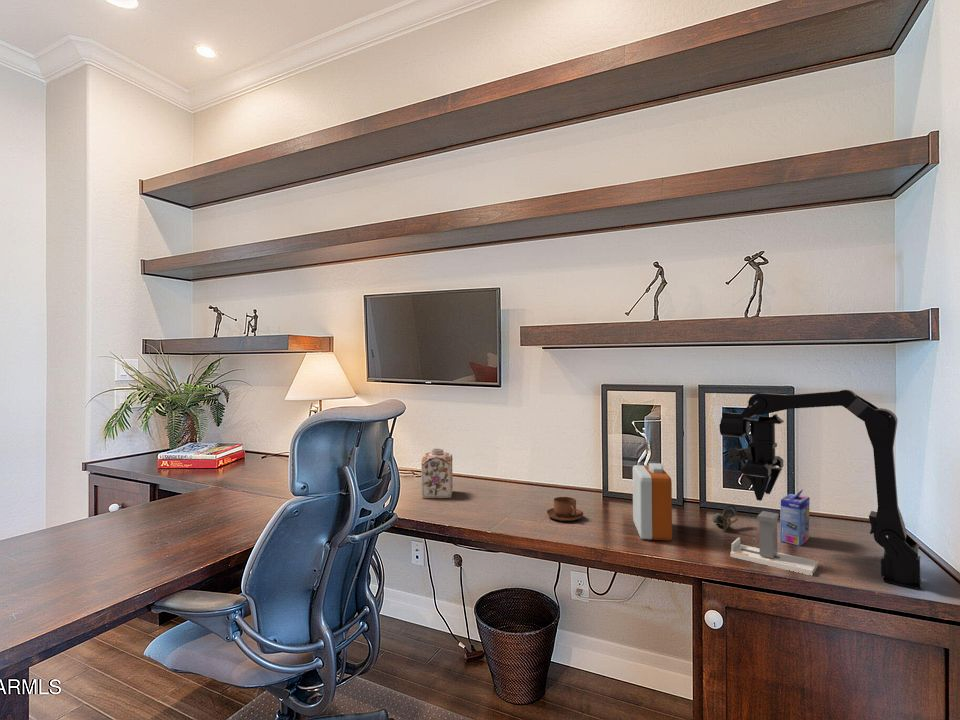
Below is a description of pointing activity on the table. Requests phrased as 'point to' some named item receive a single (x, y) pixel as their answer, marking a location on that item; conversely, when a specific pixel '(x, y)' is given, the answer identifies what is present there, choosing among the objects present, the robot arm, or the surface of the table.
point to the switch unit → (778, 561)
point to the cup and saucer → (565, 509)
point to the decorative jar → (436, 474)
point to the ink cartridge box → (794, 519)
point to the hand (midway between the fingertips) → (763, 497)
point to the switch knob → (768, 534)
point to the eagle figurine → (726, 517)
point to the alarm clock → (652, 502)
